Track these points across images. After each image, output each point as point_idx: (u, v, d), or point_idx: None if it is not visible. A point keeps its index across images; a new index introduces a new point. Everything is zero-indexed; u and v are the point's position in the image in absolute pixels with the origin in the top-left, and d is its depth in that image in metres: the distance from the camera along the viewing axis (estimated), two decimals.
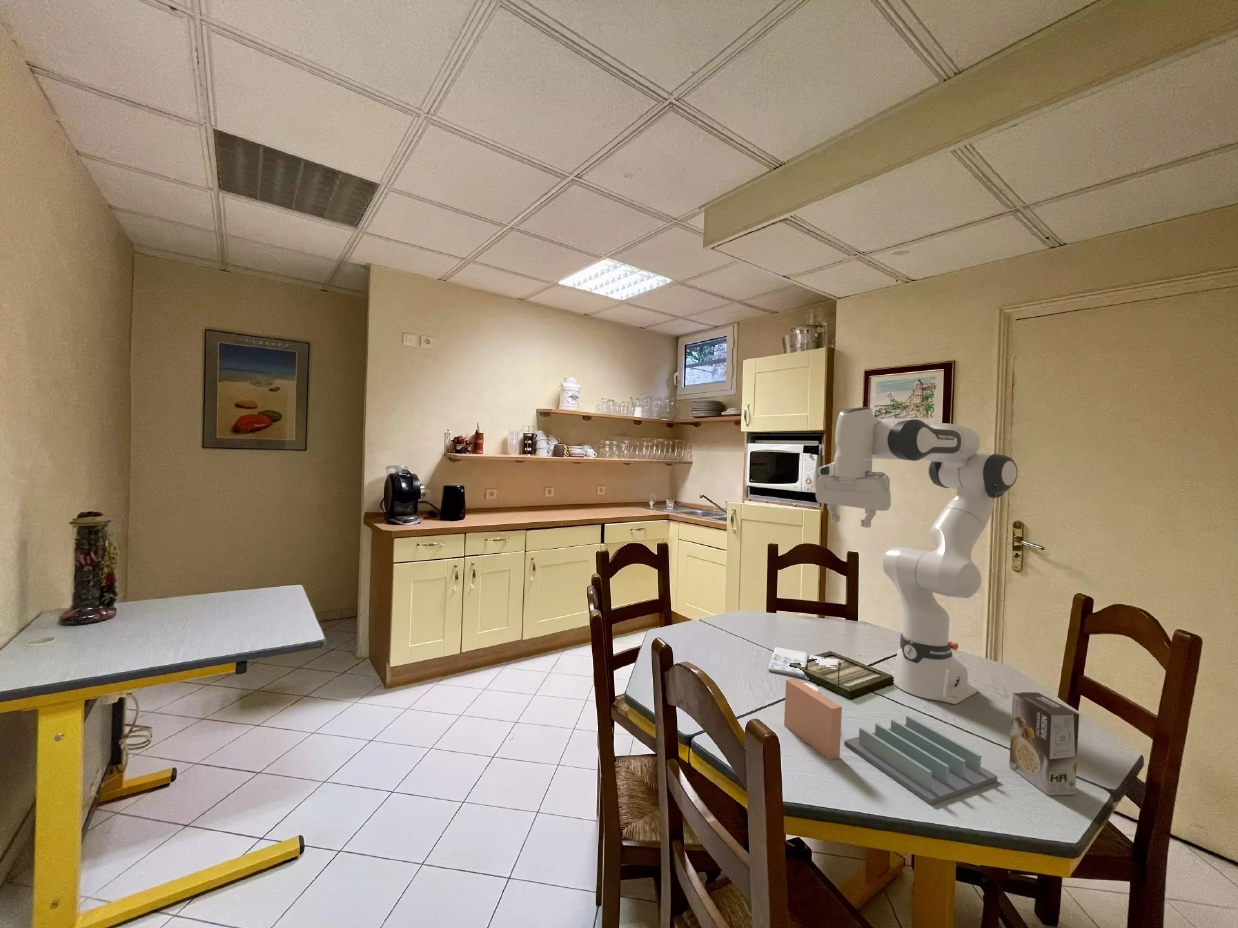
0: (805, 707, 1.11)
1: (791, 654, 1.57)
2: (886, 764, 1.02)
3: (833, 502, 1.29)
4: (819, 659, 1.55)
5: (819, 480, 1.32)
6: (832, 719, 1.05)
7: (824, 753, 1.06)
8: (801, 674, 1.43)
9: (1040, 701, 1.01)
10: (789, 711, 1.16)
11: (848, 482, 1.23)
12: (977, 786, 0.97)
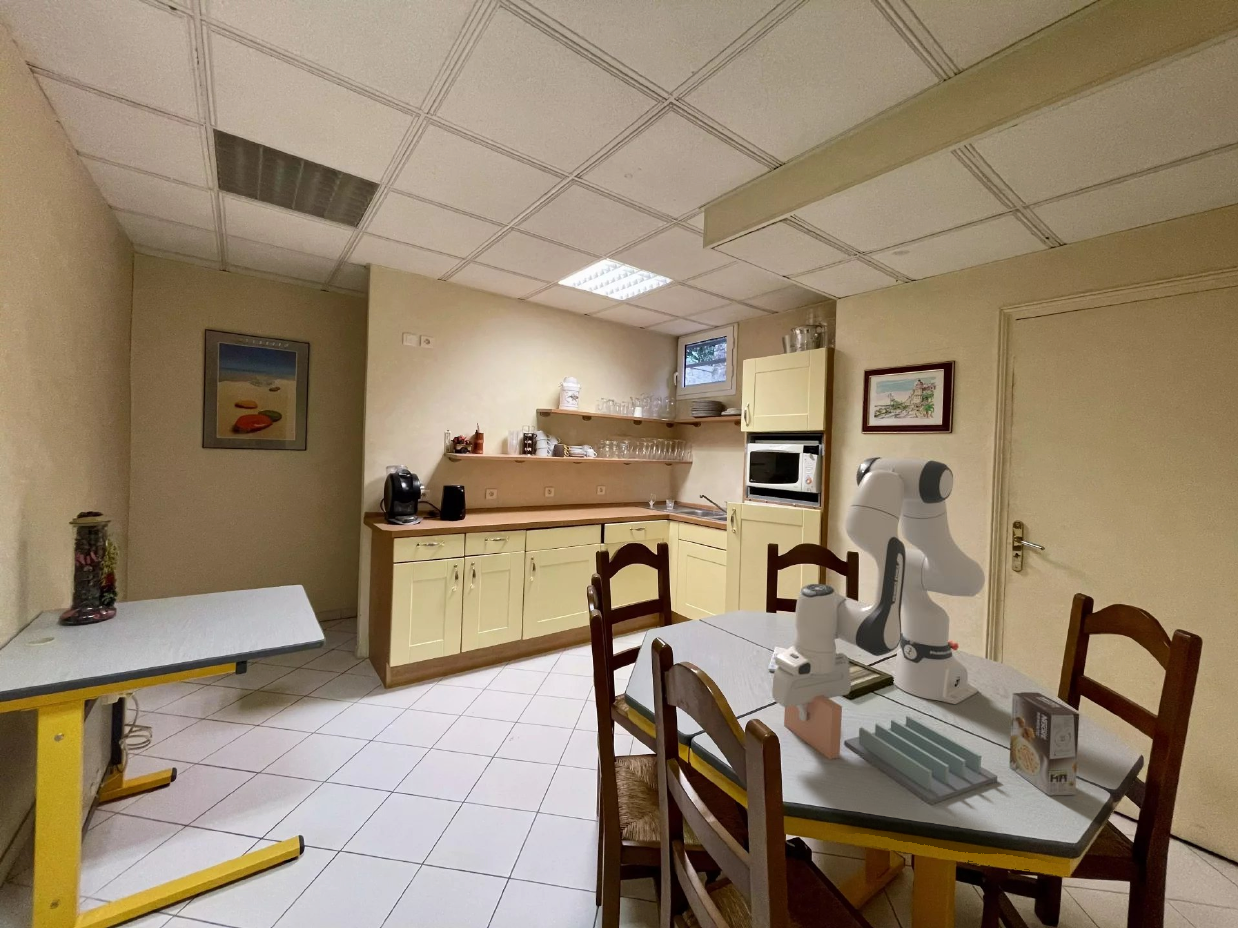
0: (805, 707, 1.11)
1: None
2: (886, 764, 1.02)
3: (805, 701, 1.08)
4: None
5: (792, 681, 1.06)
6: (833, 718, 1.05)
7: (824, 753, 1.06)
8: None
9: (1040, 701, 1.01)
10: (789, 711, 1.16)
11: (827, 675, 1.09)
12: (977, 786, 0.97)
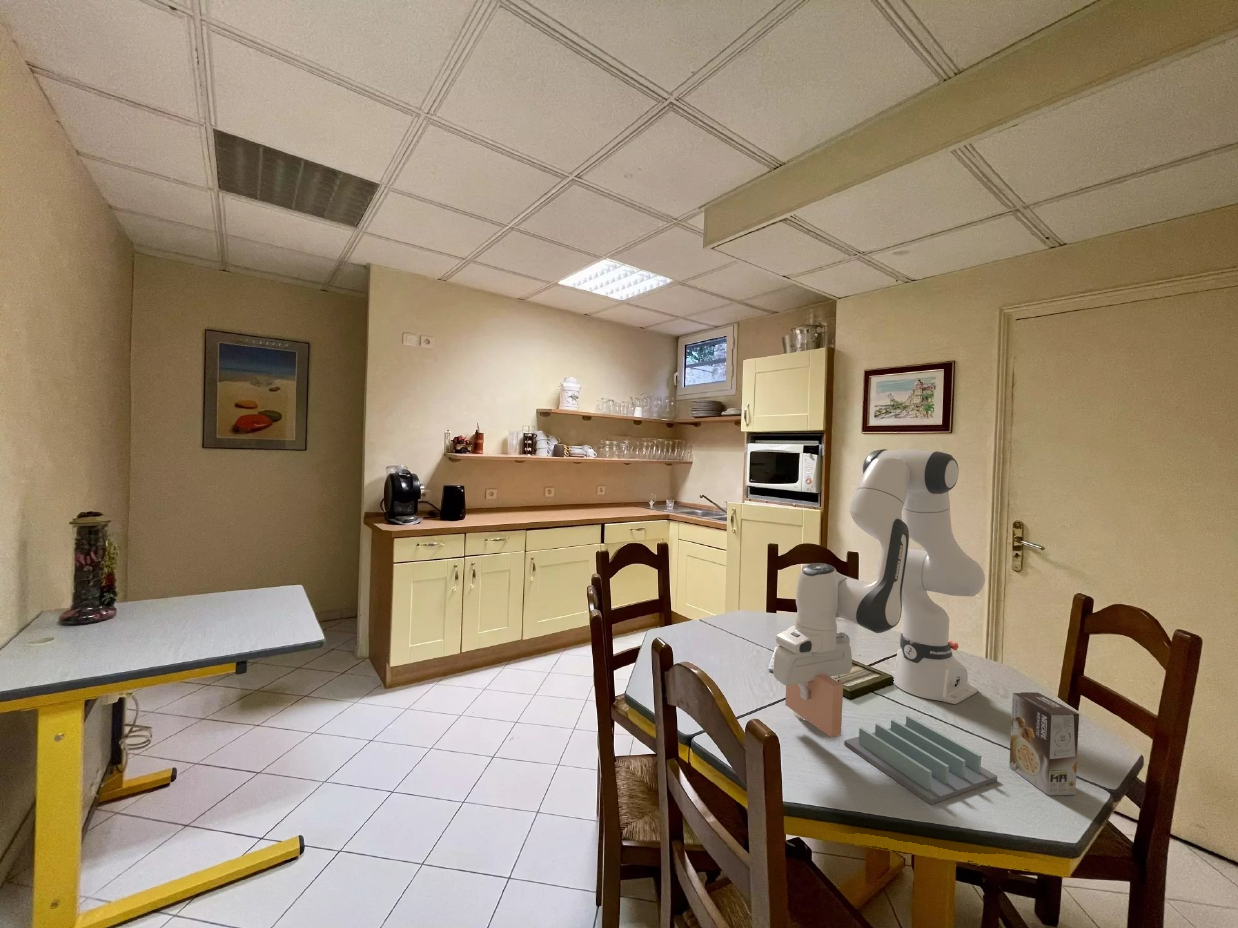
0: (807, 685, 1.11)
1: None
2: (886, 764, 1.02)
3: (806, 680, 1.08)
4: None
5: (793, 659, 1.06)
6: (834, 696, 1.05)
7: (825, 730, 1.06)
8: None
9: (1040, 701, 1.01)
10: (790, 690, 1.16)
11: (829, 653, 1.09)
12: (977, 786, 0.97)
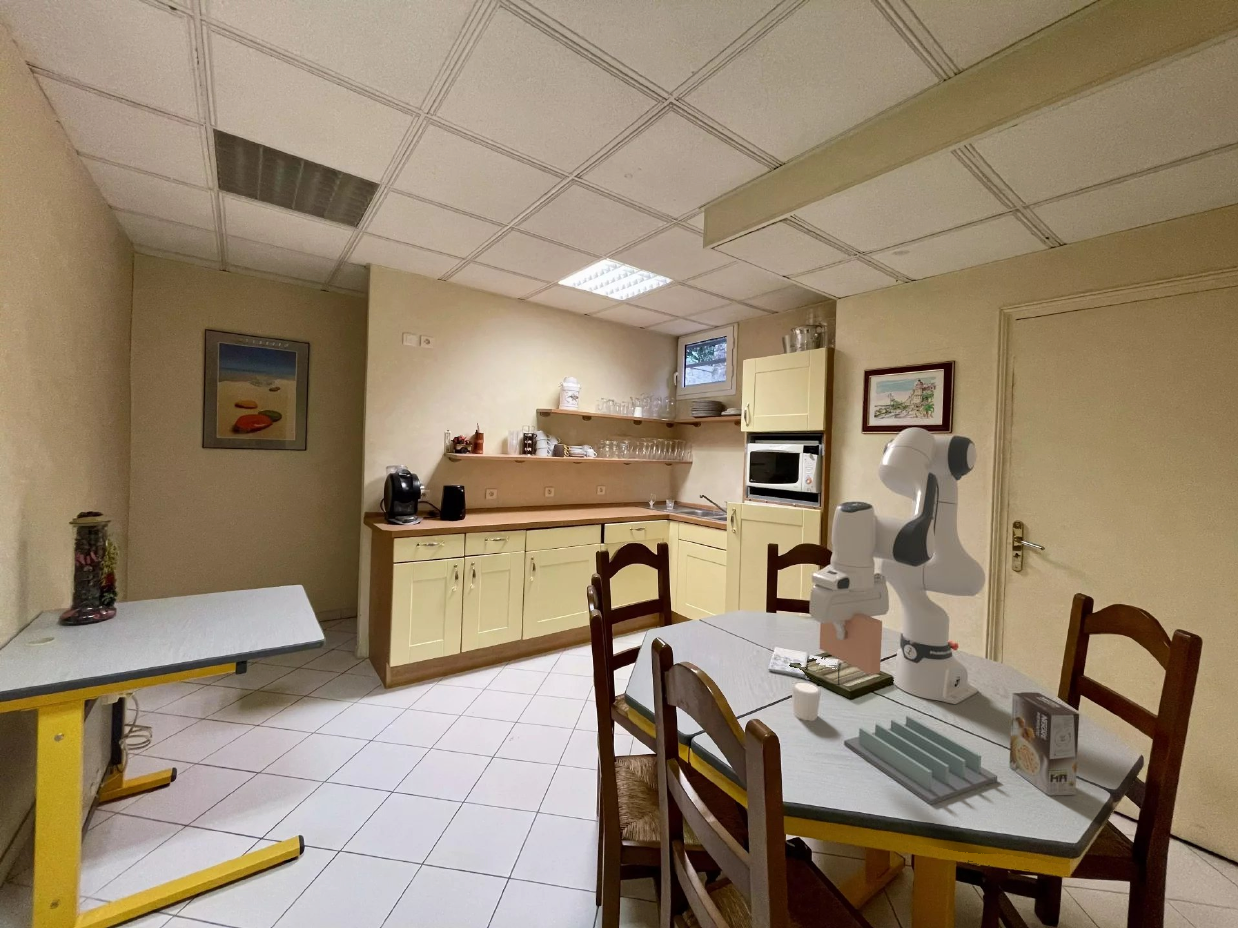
0: (843, 626, 1.09)
1: (791, 654, 1.57)
2: (886, 764, 1.02)
3: (843, 618, 1.06)
4: (819, 659, 1.55)
5: (831, 596, 1.03)
6: (873, 633, 1.02)
7: (864, 669, 1.04)
8: (801, 674, 1.43)
9: (1040, 701, 1.01)
10: (825, 633, 1.14)
11: (866, 592, 1.07)
12: (977, 786, 0.97)
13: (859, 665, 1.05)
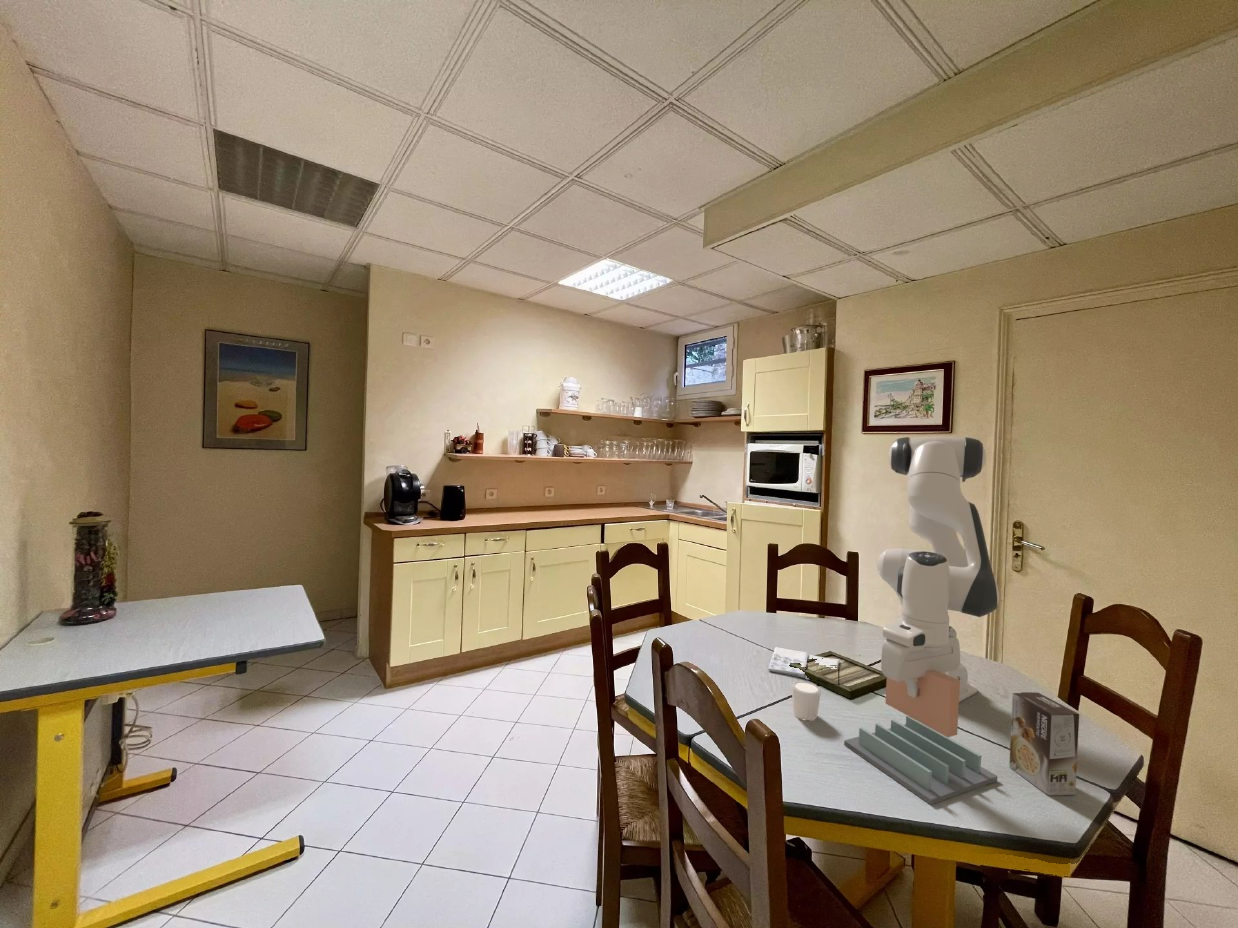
0: None
1: (791, 654, 1.57)
2: (886, 764, 1.02)
3: (917, 676, 1.01)
4: (819, 659, 1.55)
5: (906, 653, 0.99)
6: (951, 693, 0.98)
7: (940, 730, 0.99)
8: (801, 674, 1.43)
9: (1040, 701, 1.01)
10: (892, 688, 1.09)
11: (940, 648, 1.02)
12: (977, 786, 0.97)
13: (934, 726, 1.00)
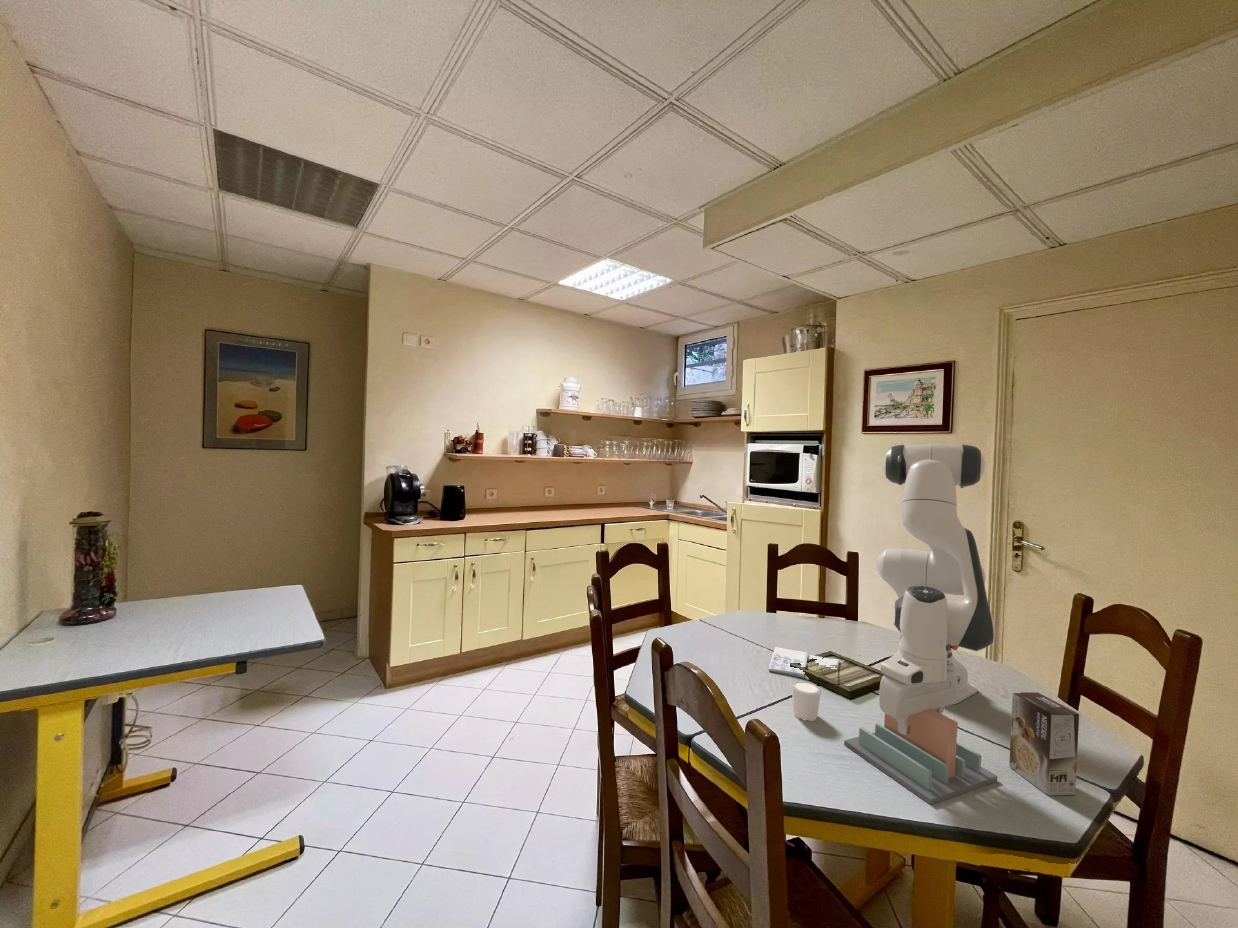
0: (912, 722, 1.05)
1: (791, 654, 1.57)
2: (886, 764, 1.02)
3: (915, 712, 1.02)
4: (819, 659, 1.55)
5: (904, 691, 0.99)
6: (949, 735, 0.98)
7: None
8: (801, 674, 1.43)
9: (1040, 701, 1.01)
10: (890, 725, 1.09)
11: (938, 683, 1.02)
12: (977, 786, 0.97)
13: None
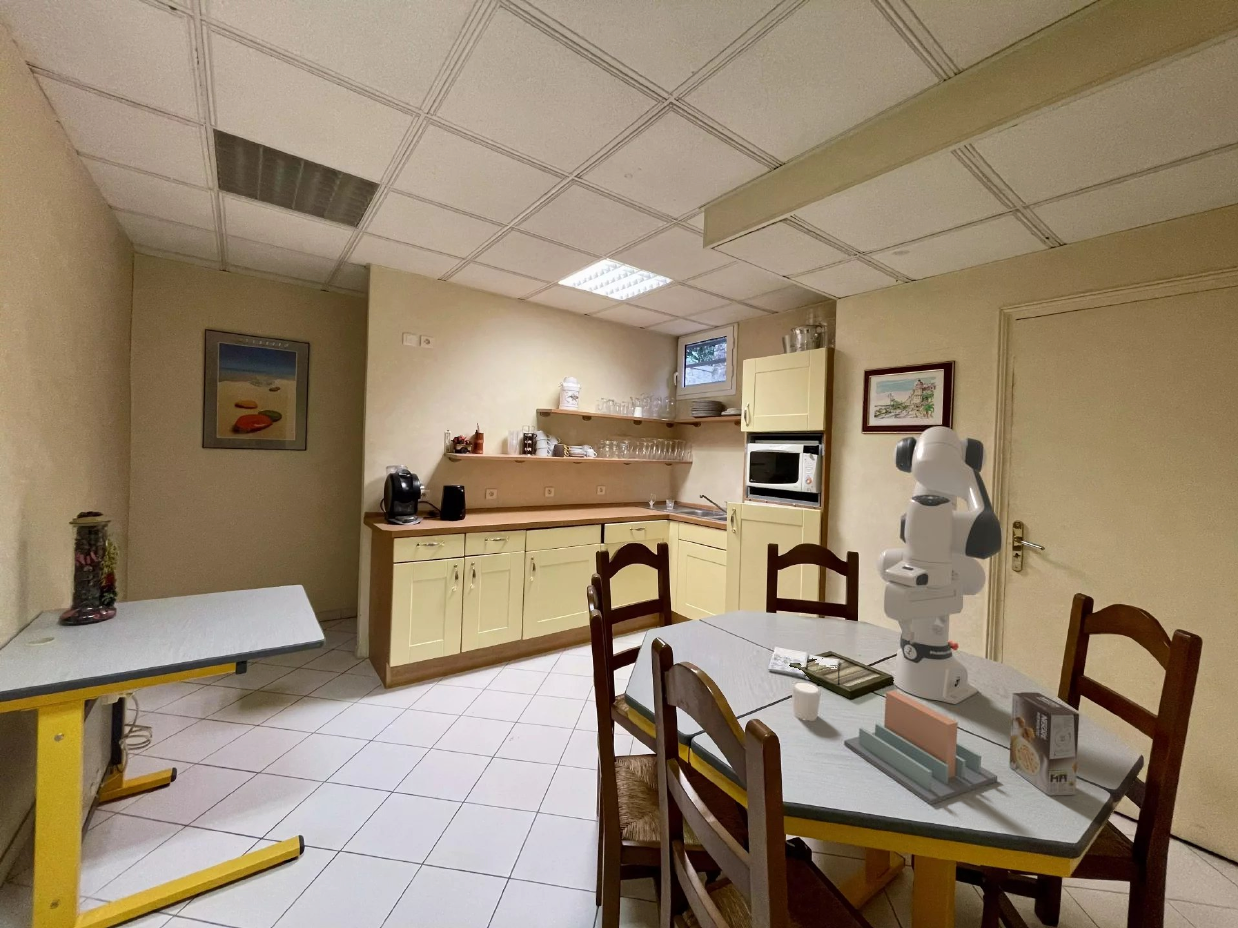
0: (912, 722, 1.05)
1: (791, 654, 1.57)
2: (886, 764, 1.02)
3: (919, 616, 1.01)
4: (819, 659, 1.55)
5: (909, 593, 0.99)
6: (949, 735, 0.98)
7: None
8: (801, 674, 1.43)
9: (1040, 701, 1.01)
10: (890, 725, 1.09)
11: (943, 589, 1.02)
12: (977, 786, 0.97)
13: None
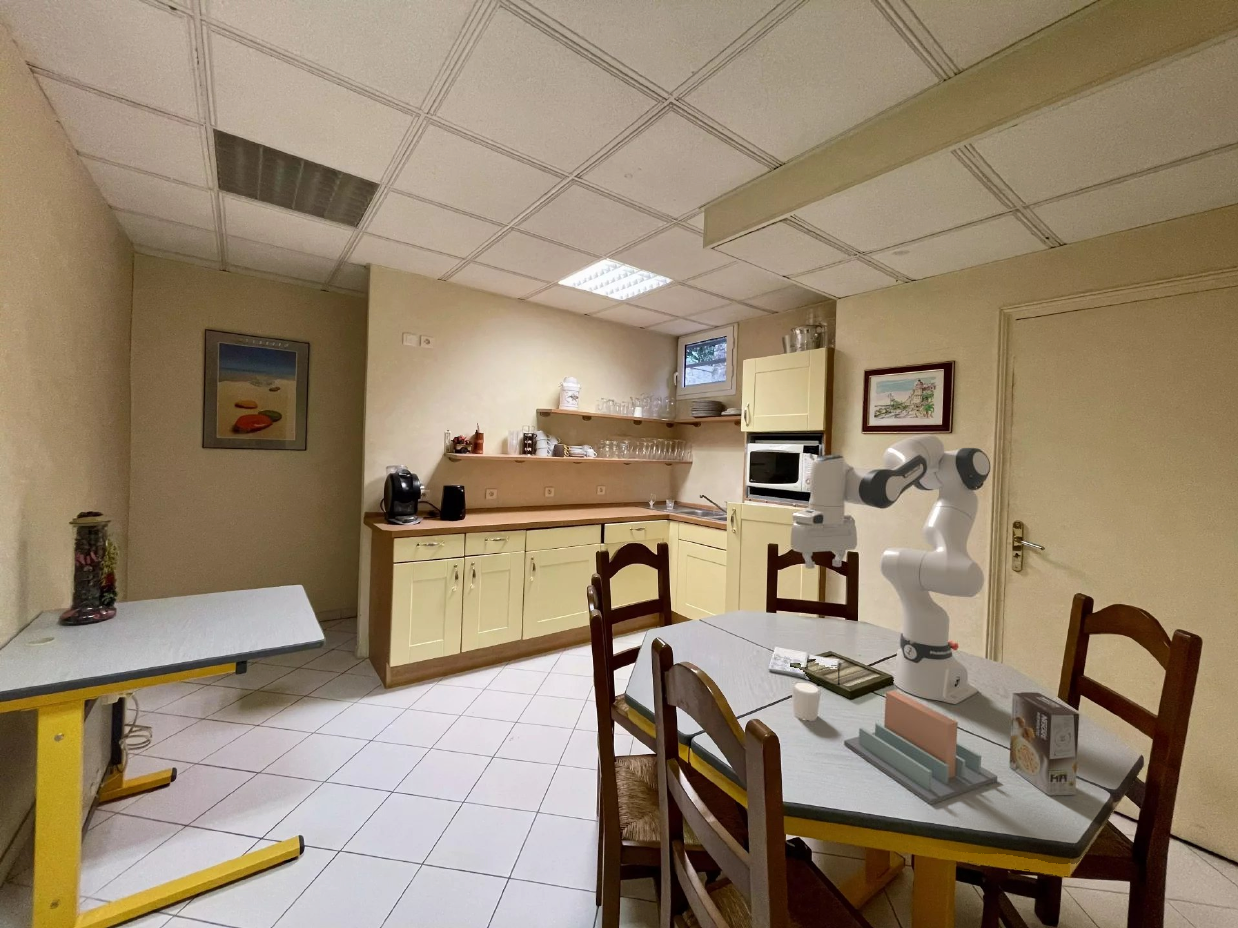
0: (912, 722, 1.05)
1: (791, 654, 1.57)
2: (886, 764, 1.02)
3: (818, 549, 1.28)
4: (819, 659, 1.55)
5: (808, 529, 1.25)
6: (949, 735, 0.98)
7: None
8: (801, 674, 1.43)
9: (1040, 701, 1.01)
10: (890, 725, 1.09)
11: (837, 528, 1.29)
12: (977, 786, 0.97)
13: None
